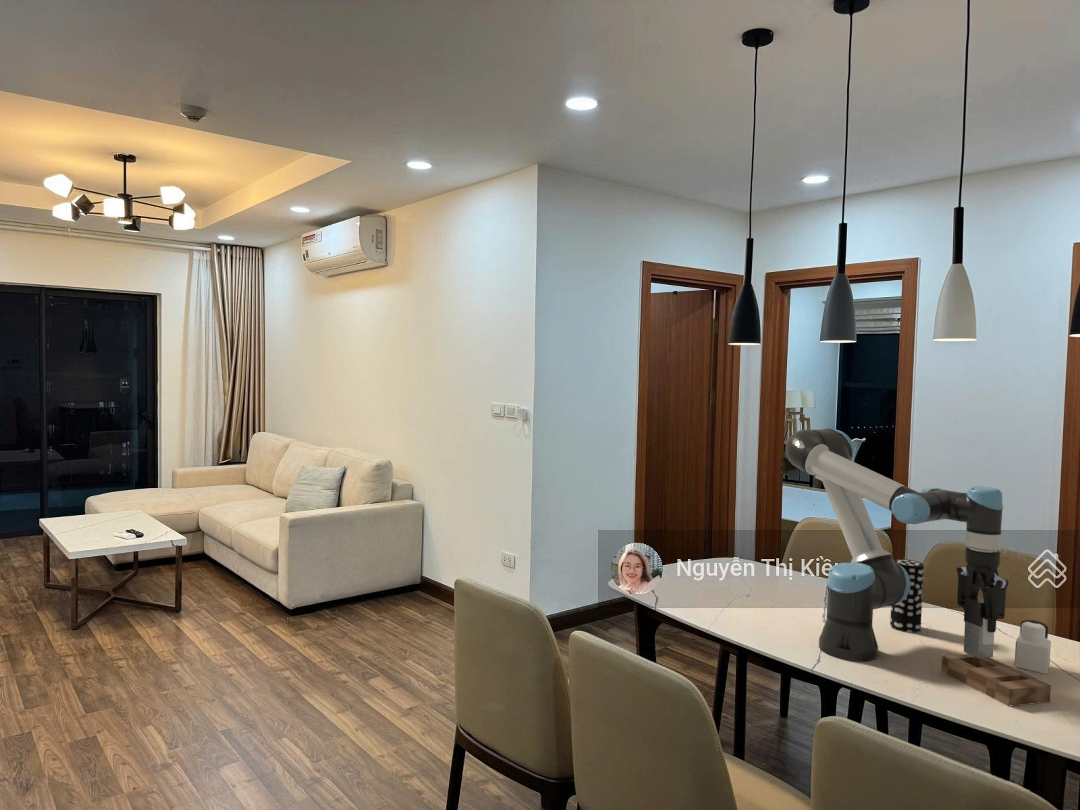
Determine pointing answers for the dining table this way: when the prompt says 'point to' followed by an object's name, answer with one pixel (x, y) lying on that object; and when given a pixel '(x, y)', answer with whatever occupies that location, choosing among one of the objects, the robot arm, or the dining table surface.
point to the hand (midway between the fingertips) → (978, 639)
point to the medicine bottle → (1033, 647)
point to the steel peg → (975, 629)
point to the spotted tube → (909, 600)
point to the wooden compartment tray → (996, 679)
